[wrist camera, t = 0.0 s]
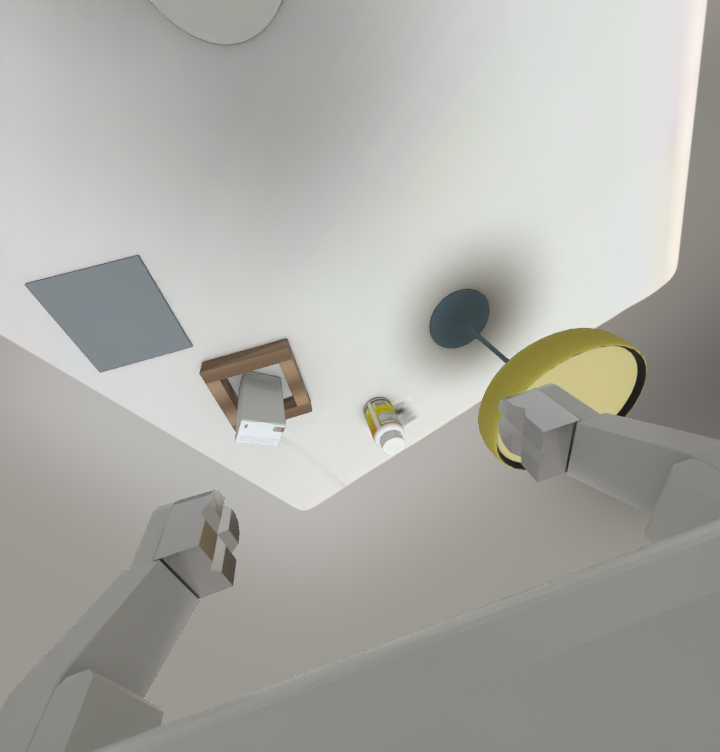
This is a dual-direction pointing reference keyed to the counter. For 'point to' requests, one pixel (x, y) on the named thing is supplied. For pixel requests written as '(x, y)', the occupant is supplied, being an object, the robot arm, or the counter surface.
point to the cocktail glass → (544, 366)
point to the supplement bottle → (384, 425)
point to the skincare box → (260, 410)
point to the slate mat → (112, 313)
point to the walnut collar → (248, 361)
